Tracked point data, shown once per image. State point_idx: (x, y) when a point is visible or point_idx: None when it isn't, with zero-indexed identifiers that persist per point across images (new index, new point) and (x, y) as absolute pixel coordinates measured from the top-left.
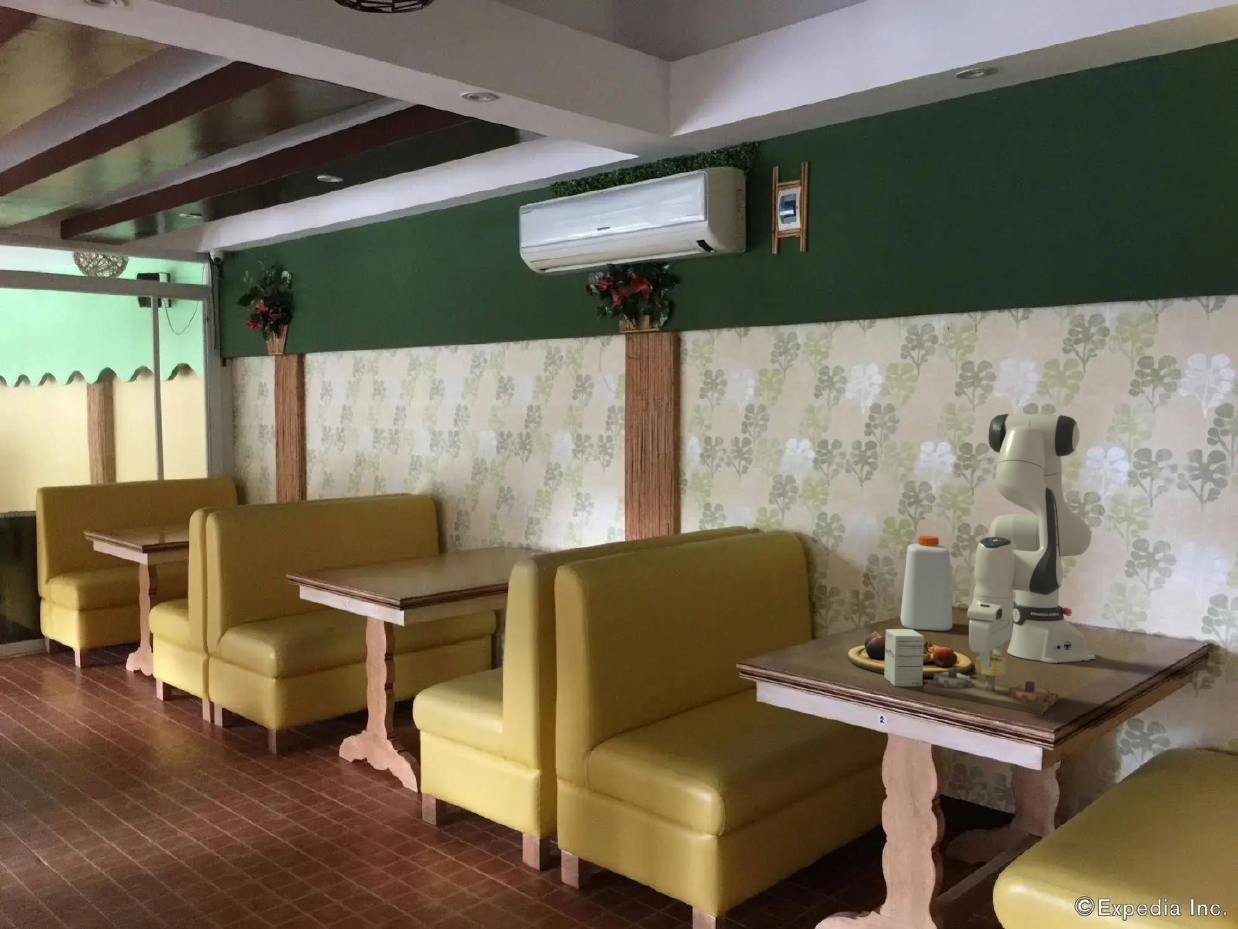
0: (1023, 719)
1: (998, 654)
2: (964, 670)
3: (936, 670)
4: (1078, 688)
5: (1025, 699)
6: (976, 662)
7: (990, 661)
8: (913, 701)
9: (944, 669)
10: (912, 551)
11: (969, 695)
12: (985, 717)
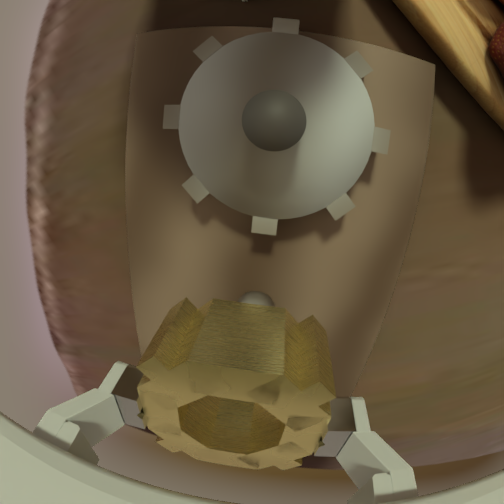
0: (97, 378)
1: (340, 454)
2: None
3: (433, 25)
4: (448, 430)
5: None
6: (152, 345)
7: (141, 424)
8: (34, 82)
9: (472, 63)
10: None
11: (129, 245)
12: (43, 304)
